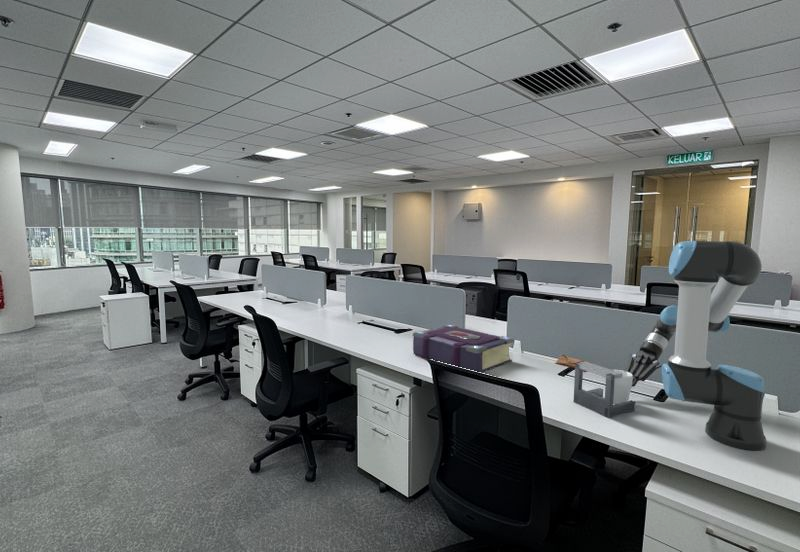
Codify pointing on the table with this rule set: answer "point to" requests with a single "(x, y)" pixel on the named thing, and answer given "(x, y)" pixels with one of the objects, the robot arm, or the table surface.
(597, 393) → the grey plastic frame
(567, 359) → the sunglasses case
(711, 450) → the table surface
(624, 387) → the cup
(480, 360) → the book
